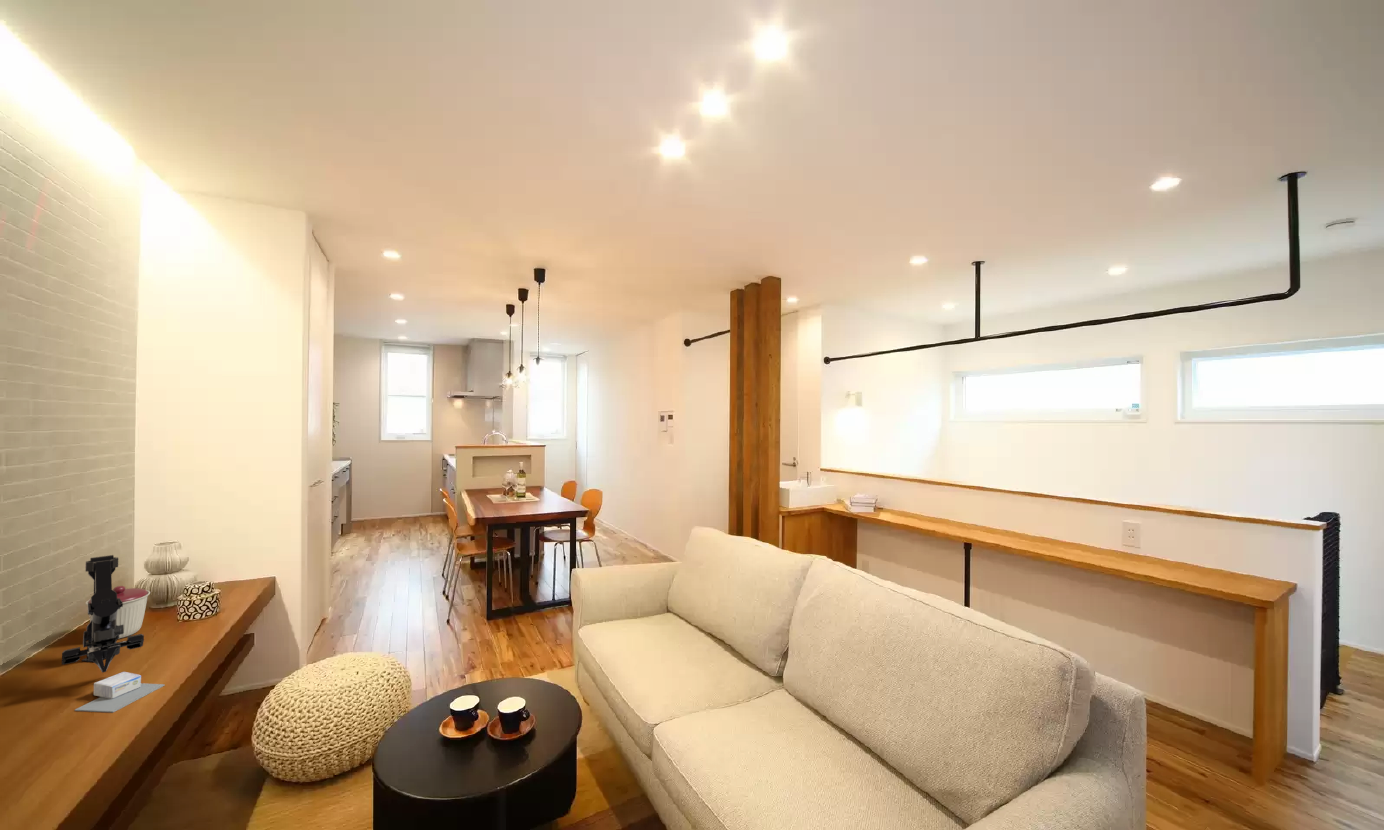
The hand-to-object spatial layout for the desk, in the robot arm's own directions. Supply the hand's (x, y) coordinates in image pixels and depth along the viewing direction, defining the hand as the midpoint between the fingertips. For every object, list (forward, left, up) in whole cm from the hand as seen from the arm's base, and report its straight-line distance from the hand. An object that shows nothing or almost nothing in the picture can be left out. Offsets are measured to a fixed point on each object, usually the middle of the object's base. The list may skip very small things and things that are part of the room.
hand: (104, 671), depth 173 cm
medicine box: (0, +1, -5) cm, 5 cm away
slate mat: (+9, -2, -7) cm, 12 cm away
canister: (-41, +40, -7) cm, 57 cm away
